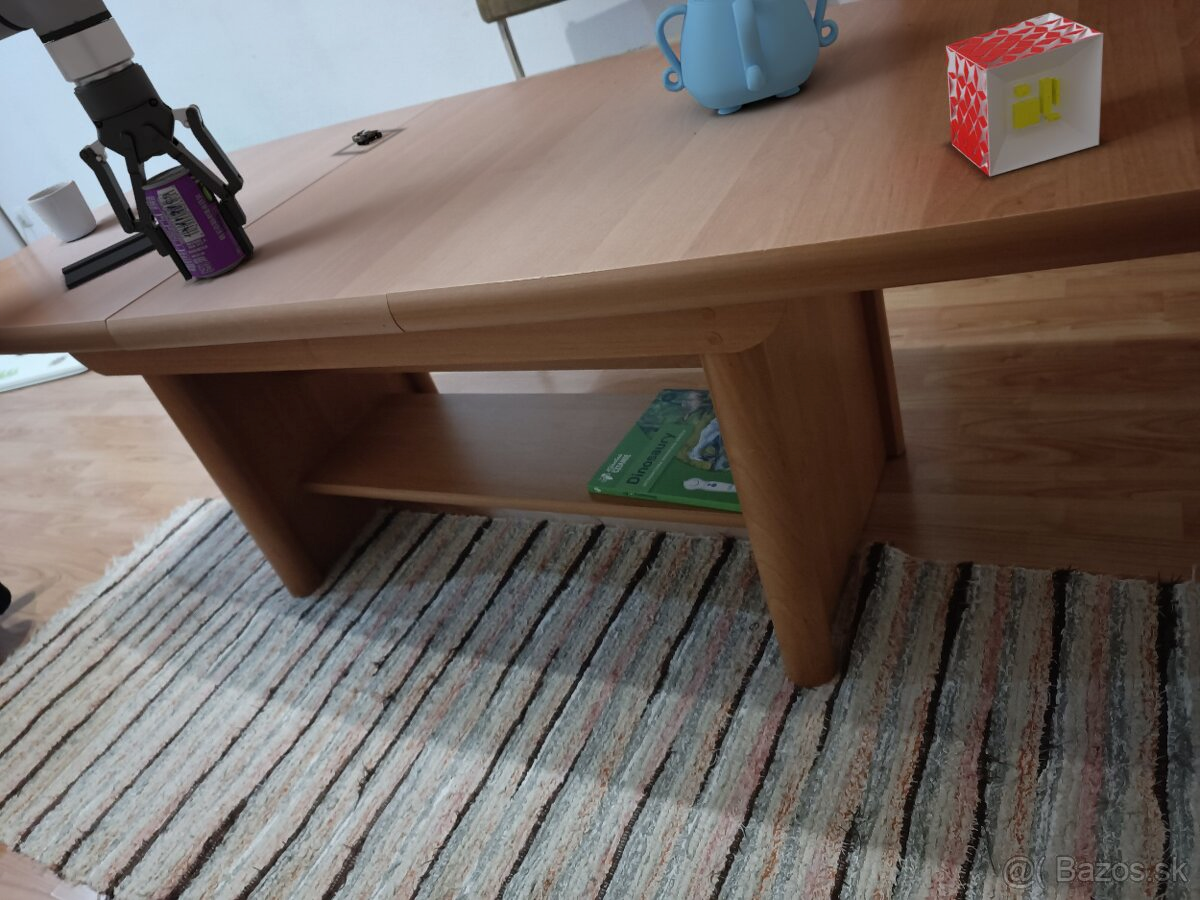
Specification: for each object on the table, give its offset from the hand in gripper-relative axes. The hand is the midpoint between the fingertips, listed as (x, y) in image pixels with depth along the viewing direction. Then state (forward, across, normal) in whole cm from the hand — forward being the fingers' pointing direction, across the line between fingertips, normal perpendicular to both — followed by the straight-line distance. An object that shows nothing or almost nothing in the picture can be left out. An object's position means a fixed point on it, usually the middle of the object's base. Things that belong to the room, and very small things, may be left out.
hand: (220, 263), depth 106 cm
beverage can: (+1, 0, 0) cm, 1 cm away
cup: (+1, +30, -52) cm, 60 cm away
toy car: (+1, -21, -35) cm, 41 cm away
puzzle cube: (+1, -71, +52) cm, 88 cm away
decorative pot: (+1, -65, +15) cm, 67 cm away
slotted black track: (+1, +16, -26) cm, 31 cm away
